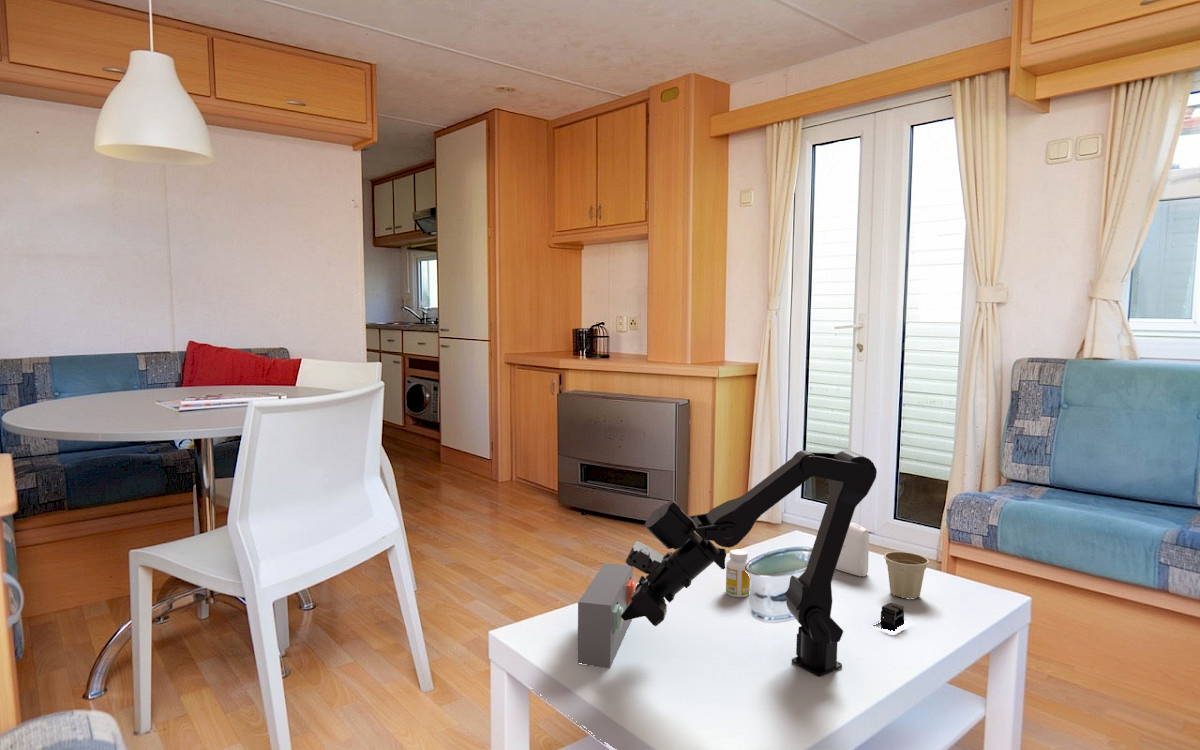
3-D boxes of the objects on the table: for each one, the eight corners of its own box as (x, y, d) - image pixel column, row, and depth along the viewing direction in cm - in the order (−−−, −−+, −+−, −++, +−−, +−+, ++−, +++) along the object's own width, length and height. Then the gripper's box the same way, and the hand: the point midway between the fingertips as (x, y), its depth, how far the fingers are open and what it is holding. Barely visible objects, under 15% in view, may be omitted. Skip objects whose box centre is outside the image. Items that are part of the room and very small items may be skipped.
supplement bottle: (748, 589, 162) (749, 548, 162) (751, 598, 157) (752, 556, 156) (724, 588, 163) (725, 547, 162) (726, 597, 157) (727, 555, 157)
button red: (635, 597, 142) (636, 578, 142) (632, 605, 139) (632, 585, 138) (613, 595, 144) (614, 576, 143) (609, 603, 140) (609, 583, 139)
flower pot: (873, 589, 163) (875, 553, 163) (906, 585, 166) (908, 549, 165) (902, 605, 154) (903, 566, 154) (936, 600, 157) (938, 562, 156)
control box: (631, 619, 145) (632, 565, 144) (610, 668, 125) (610, 605, 124) (603, 616, 146) (604, 563, 146) (577, 664, 126) (578, 602, 125)
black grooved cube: (893, 643, 137) (894, 620, 137) (859, 630, 143) (859, 608, 142) (923, 625, 145) (923, 603, 145) (889, 614, 151) (889, 593, 150)
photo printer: (824, 566, 178) (826, 519, 177) (834, 563, 181) (836, 516, 180) (860, 578, 170) (862, 528, 169) (870, 575, 173) (872, 525, 172)
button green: (623, 624, 130) (623, 603, 130) (619, 633, 126) (619, 612, 126) (599, 621, 131) (599, 600, 131) (594, 630, 127) (594, 609, 127)
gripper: (661, 516, 134) (604, 567, 138) (645, 546, 116) (579, 604, 119) (701, 560, 133) (643, 610, 136) (691, 597, 115) (624, 654, 118)
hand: (622, 617), depth 128 cm, fingers closed, pressing on button green
